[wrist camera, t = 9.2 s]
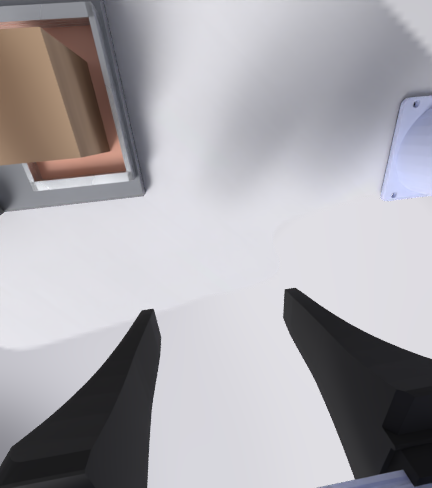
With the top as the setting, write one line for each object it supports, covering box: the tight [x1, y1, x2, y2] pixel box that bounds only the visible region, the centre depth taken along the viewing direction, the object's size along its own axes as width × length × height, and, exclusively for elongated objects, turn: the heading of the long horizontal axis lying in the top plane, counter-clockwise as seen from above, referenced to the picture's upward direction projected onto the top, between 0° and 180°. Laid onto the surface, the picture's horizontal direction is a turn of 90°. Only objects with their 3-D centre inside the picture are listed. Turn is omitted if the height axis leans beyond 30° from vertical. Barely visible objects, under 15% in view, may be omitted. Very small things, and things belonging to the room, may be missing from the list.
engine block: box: [0, 27, 110, 166], centre depth 13 cm, size 4×5×5 cm
